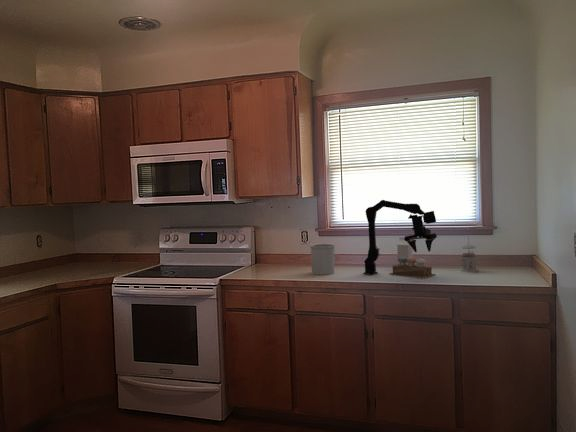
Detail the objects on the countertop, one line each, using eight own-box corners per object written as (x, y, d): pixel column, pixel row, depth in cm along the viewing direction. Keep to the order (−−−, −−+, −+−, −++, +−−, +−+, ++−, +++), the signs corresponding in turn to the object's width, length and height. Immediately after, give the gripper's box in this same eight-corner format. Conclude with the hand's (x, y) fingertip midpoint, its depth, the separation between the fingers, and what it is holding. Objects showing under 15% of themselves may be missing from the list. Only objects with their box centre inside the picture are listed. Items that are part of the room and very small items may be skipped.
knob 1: (404, 268, 279) (403, 258, 279) (396, 267, 283) (396, 258, 283) (409, 266, 283) (408, 257, 283) (401, 265, 287) (401, 257, 286)
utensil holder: (340, 272, 297) (339, 243, 296) (325, 276, 286) (324, 246, 285) (321, 270, 307) (320, 242, 306) (306, 273, 296) (305, 245, 295)
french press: (475, 268, 290) (474, 227, 289) (481, 272, 279) (480, 228, 277) (458, 269, 291) (457, 227, 290) (463, 272, 280) (462, 229, 278)
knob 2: (422, 269, 271) (422, 260, 270) (414, 269, 274) (414, 259, 274) (427, 268, 274) (427, 259, 274) (419, 267, 278) (419, 258, 278)
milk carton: (408, 269, 298) (407, 238, 297) (397, 268, 302) (396, 238, 301) (413, 267, 303) (412, 237, 302) (402, 266, 308) (401, 237, 307)
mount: (424, 278, 266) (423, 269, 266) (389, 274, 283) (388, 266, 283) (435, 275, 275) (435, 266, 274) (400, 271, 291) (400, 263, 291)
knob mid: (413, 268, 275) (412, 259, 275) (405, 268, 279) (405, 259, 278) (418, 267, 278) (417, 258, 278) (410, 266, 282) (410, 257, 282)
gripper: (439, 221, 276) (444, 248, 276) (413, 224, 290) (417, 250, 291) (428, 224, 269) (433, 252, 269) (401, 227, 283) (406, 253, 284)
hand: (422, 251), depth 278 cm, fingers open, 9 cm apart
